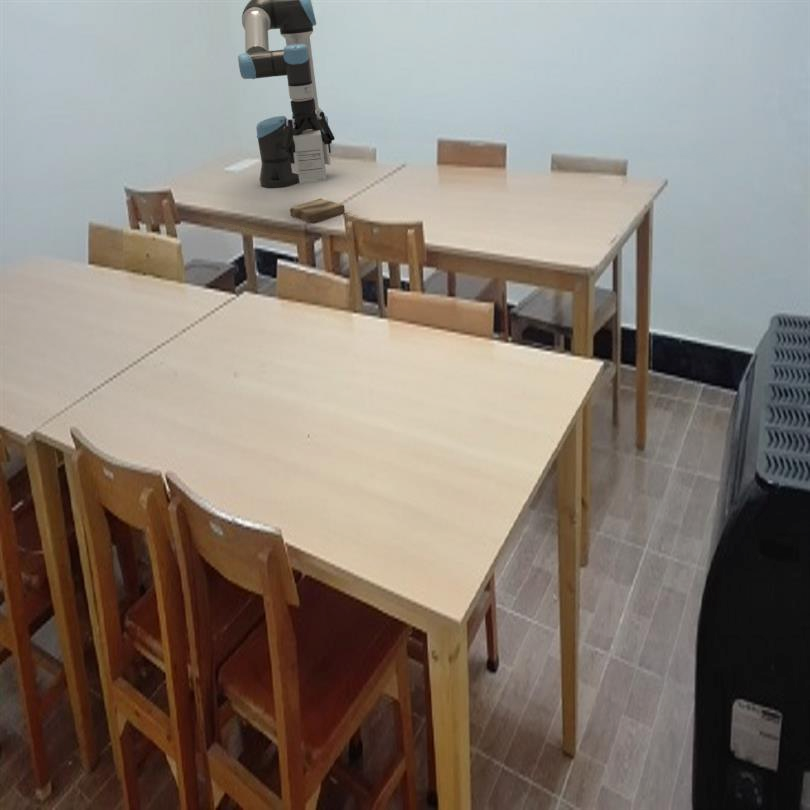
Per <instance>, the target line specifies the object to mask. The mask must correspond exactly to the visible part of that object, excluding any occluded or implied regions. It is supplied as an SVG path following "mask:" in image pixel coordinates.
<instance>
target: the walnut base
mask: <svg viewBox="0 0 810 810" xmlns="http://www.w3.org/2000/svg"><path fill="white" fill-rule="evenodd" d="M344 212H345V213H346V211H345V205H344V204H341V203H338V202H334V201H332V200H328V199H323V198H321V197H320V198H317V199H315V200H311V201H309V202H305V203H302V204H299V205H298V204H297V205H294V206H292V207H291V208H289V213H290V217H291V216H292V217H291V218H294V219H298V218H299V219H298V220H301V219H302V220H301V221H304V220H305V221H304V222H307V221H308V223H311V224H316V223H319V222H323V221H325V220H329V219H331V218H334V217H337V216H340V215H344V214H345V213H344ZM343 213H344V214H343Z"/></svg>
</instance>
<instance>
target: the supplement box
mask: <svg viewBox="0 0 810 810" xmlns="http://www.w3.org/2000/svg"><path fill="white" fill-rule="evenodd" d="M293 140H294V142H295V153H296V156H297V163H298V170H299V174H298V175H299V184H301V185H302V184H309V183H317V182H320V183H321V182H327V170H326V164H325V160H324V152H323V145H322V137H321V131H320V130H313V129H309V130H306V131H303V132H302V133H301V135H298V136H293Z"/></svg>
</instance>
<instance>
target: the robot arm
mask: <svg viewBox="0 0 810 810" xmlns="http://www.w3.org/2000/svg"><path fill="white" fill-rule="evenodd" d="M312 4H313V3H312V0H249V2H248V3H247V4H246V6H245V7H244V9H243V11H242V15H241V24H242V27H243V29H244V36H245V37H244V39H245V40H244V42H245V43H244V46H245V47H244V49H245V50H244V51H245V52H244V53H240V54H238V56H237V61H238V67H239V68H238V69H239V73H240V76H241V78H242V79H244V80H255V79H263V78H264V79H265V78H271V77H281V76H282V77H283V76H284V77H285V76H286V77H287V85H288V95H289V99H290V100H291V101H290V107H291V117H292V118H290V119H289V118H287V117H286V116H284V115H281V116H280V115H279V116H274V117H270V118H266V119H264V120H261V121H260V122H258V123H257V125H256V138H257V140H258V141H257V142H258V148H259V155H260V161H261V168H260V176H259V183H260V186H261V187H265V188H282V187H283V188H284V187H289V186H292V184H293V185H294V184H297V183H298V182H299V175H298V174H299V170H298V163H297V156H296V153H295V142H294V140H293V136H298V135H301V133H302V132H303V131H306V130H309V129H313V130H320V131H321V137H322V145H323V152H324V160H325V165H328V166H330V165H331V155H330V154H331V153H332V149H331V144H332V142H333V141H335V136H334V133H333V132H332V130H331V127H330V126H329V117H328V116H327V115H325V112H324V110H322V109H321V108H320V107H319V100H318V99H319V98H318V94H317V92H318V91H317V85H316V84H317V83H316V77H315V76H316V75H315V68H314V60H313V59H314V58H313V53H312V52H313V51H312V44H311V43H312V42H311V35H312V34H313V33H314V28H313V27H315V26H316V25H317V19H316V17H315V13H314V7H313V5H312ZM269 30H279V33H280V36H281V37H283V38H284V39H285V45H286V46H284V47H283V49H279V50H277V49H276V50H270V47H269ZM299 183H300V182H299Z"/></svg>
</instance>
